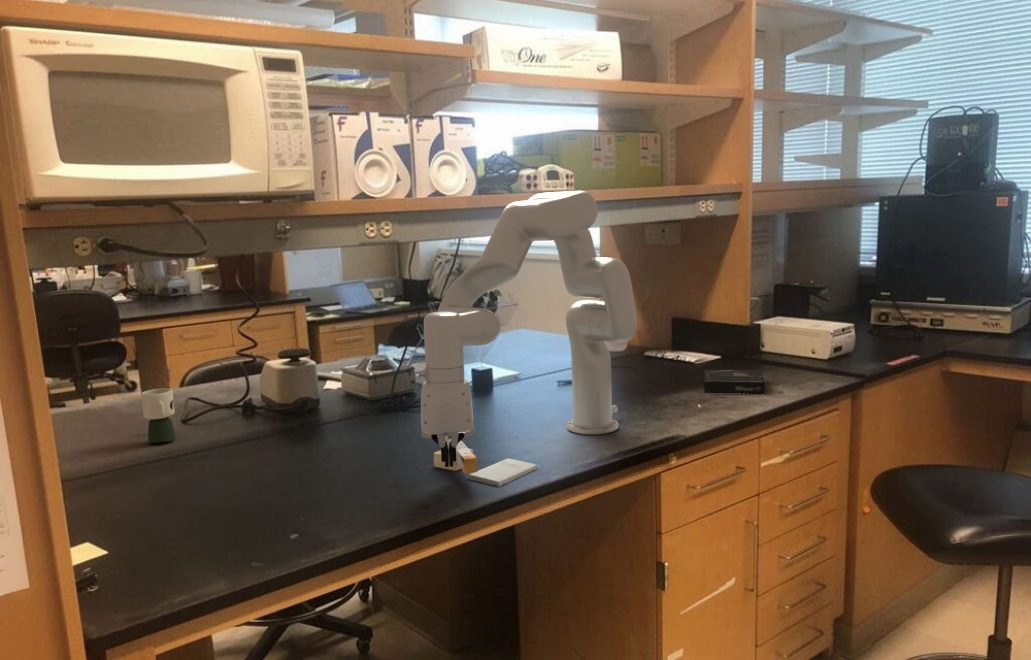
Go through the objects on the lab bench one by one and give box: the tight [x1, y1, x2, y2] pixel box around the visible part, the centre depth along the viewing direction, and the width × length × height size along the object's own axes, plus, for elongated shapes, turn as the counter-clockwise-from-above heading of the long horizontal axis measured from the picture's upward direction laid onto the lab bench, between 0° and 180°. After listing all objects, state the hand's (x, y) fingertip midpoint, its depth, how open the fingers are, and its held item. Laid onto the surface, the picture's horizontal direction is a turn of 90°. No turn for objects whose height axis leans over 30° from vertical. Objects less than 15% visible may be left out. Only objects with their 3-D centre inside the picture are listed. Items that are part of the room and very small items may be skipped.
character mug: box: [140, 387, 177, 444], centre depth 190 cm, size 11×7×13 cm, turn 34°
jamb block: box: [433, 447, 474, 471], centre depth 165 cm, size 6×6×3 cm
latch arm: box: [444, 433, 478, 475], centre depth 157 cm, size 18×4×4 cm, turn 17°
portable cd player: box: [703, 369, 766, 395], centre depth 224 cm, size 16×17×4 cm
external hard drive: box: [467, 457, 538, 487], centre depth 158 cm, size 2×8×12 cm
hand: (449, 464), depth 153 cm, fingers closed
